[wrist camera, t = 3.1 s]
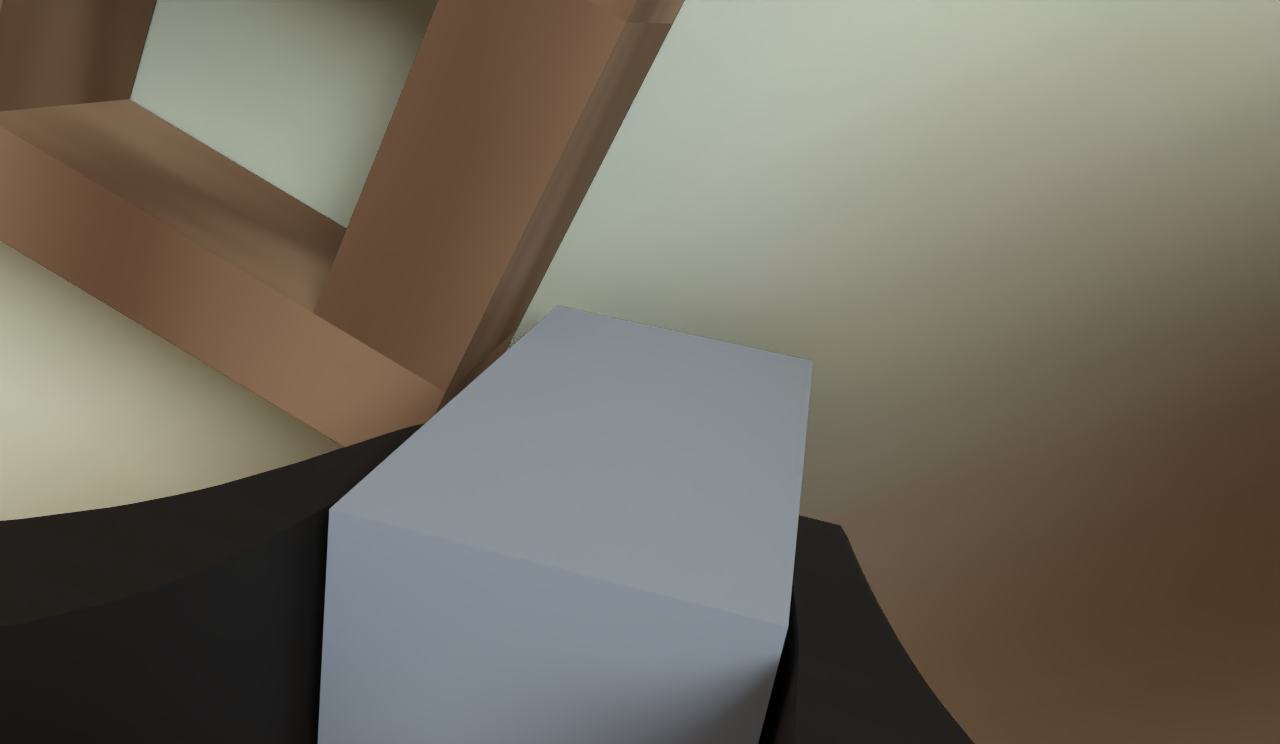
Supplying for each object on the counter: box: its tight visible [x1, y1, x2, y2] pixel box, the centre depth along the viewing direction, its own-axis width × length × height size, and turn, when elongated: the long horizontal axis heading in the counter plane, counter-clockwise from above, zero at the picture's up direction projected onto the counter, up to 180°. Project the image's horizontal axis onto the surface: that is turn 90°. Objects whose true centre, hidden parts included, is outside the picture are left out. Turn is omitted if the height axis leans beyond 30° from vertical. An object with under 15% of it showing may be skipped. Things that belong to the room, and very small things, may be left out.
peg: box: [318, 306, 813, 744], centre depth 12 cm, size 4×4×7 cm
